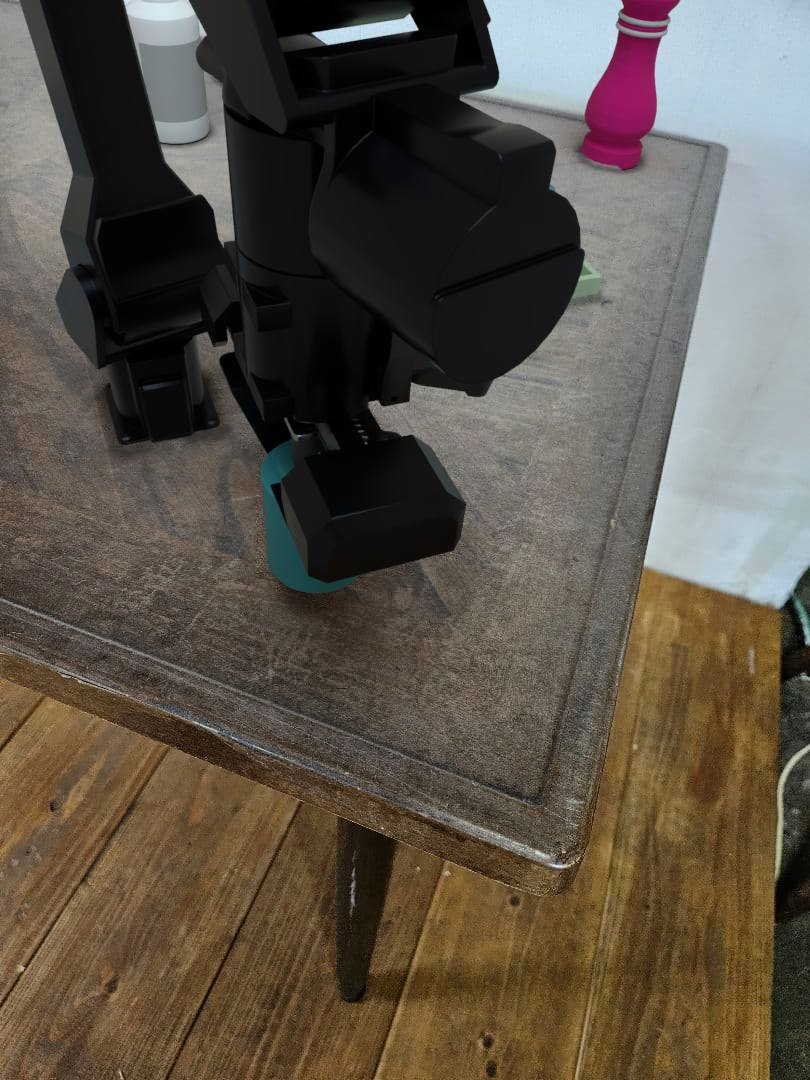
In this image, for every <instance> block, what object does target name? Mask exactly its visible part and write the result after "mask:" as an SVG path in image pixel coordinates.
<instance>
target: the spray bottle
mask: <svg viewBox="0 0 810 1080" xmlns="http://www.w3.org/2000/svg"><path fill="white" fill-rule="evenodd" d="M125 7H126V11H127V15H128V19H129V23H130V27H131V31H132V35H133V38H134V42H135V46H136V50H137V54H138V58H139V62H140V66H141V70H142V74H143V78H144V82H145V86H146V90H147V93H148V97H149V101H150V105H151V109H152V113H153V117H154V121H155V125H156V129H157V133H158V137H159V141H160V143H164V144H174V145H175V144H176V145H177V144H187V143H189V144H190V143H194V142H196V141H200V140H202V139H204V138H205V137H206V136H207V135H208V134H209V132H210V120H209V110H208V100H207V90H206V79H205V74H204V73H205V71H204V70H202V69H201V68H200V66H199V65H198V63H197V60H196V48H197V46H198V45H199V44H200V43H201V41H202V39H201V31H200V30H201V29H200V21H199V19H198V17H197V15H196V14H195V12H194V10H193V8H192V6H191V4H190V2H189V0H129V1H128V2H127V3H126V4H125Z"/></svg>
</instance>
